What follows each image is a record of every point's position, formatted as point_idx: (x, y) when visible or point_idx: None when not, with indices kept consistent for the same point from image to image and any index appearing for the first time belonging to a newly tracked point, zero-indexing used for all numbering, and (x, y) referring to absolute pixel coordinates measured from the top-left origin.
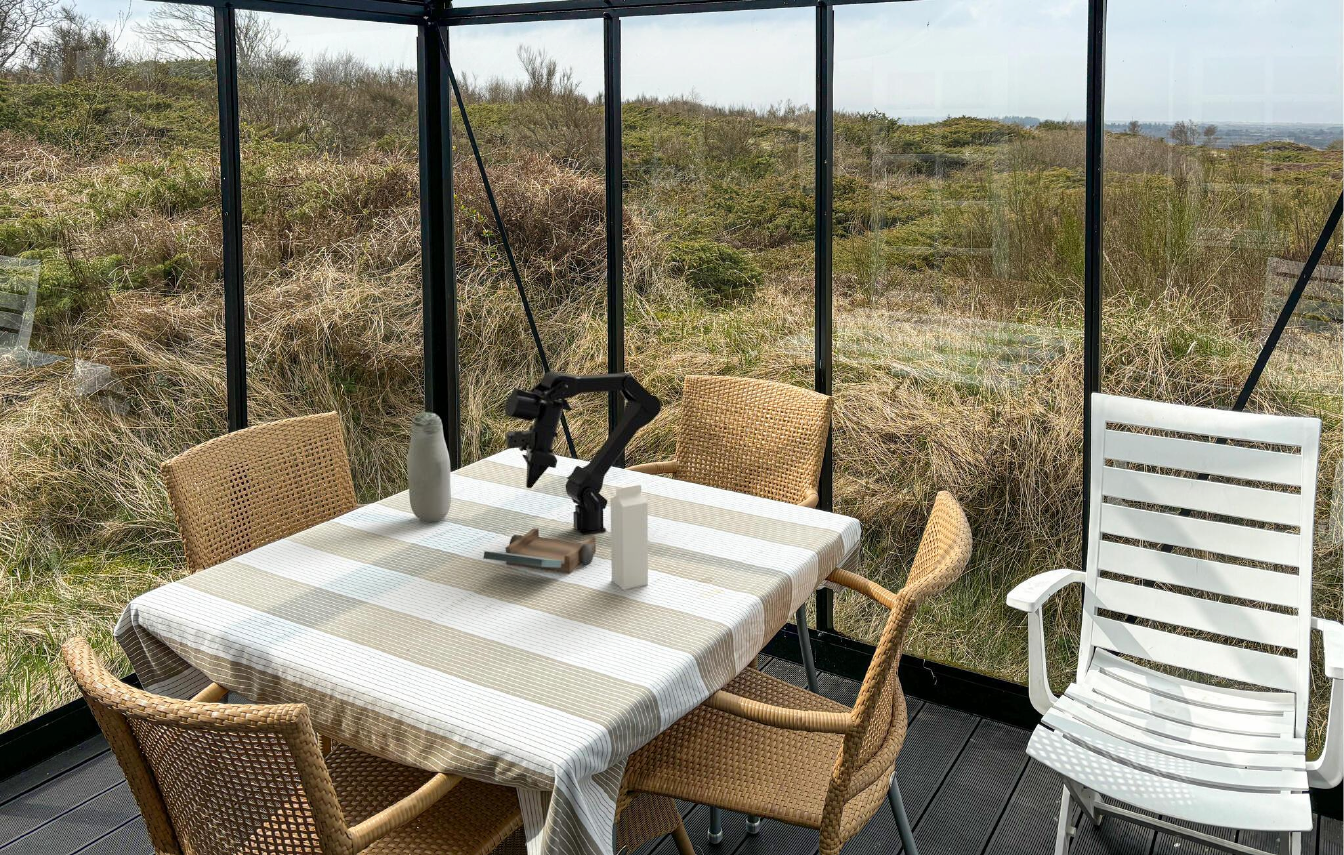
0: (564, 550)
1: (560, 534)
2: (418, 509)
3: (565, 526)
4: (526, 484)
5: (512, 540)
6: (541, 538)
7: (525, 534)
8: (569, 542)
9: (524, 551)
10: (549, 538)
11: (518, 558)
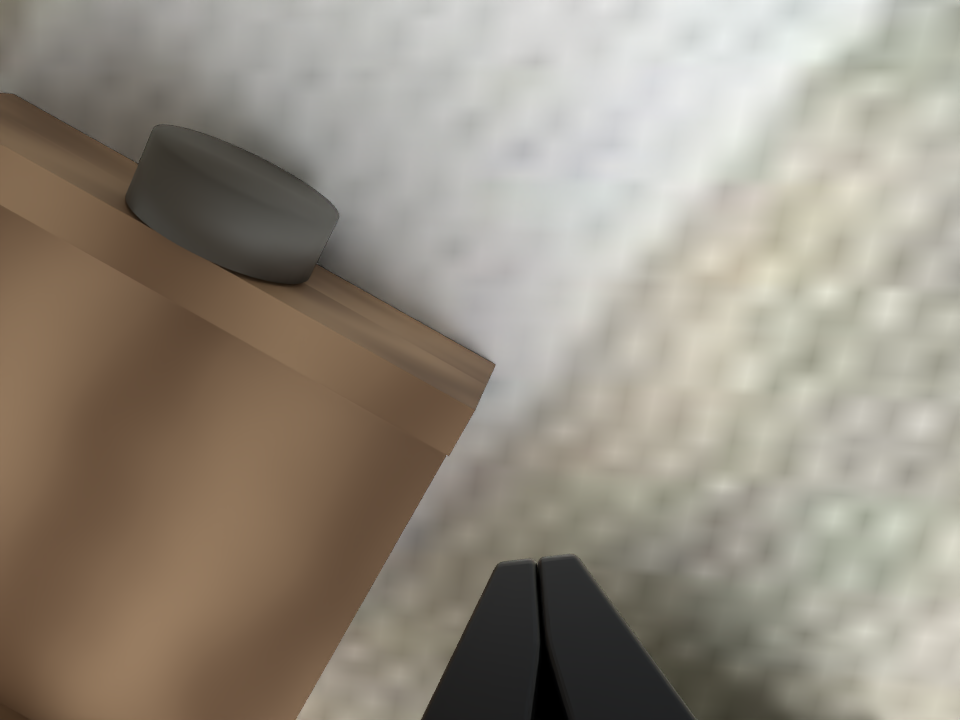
0: (88, 616)
1: (721, 607)
2: None
3: (941, 673)
4: (550, 584)
5: (148, 161)
6: (408, 449)
7: (284, 309)
8: (278, 677)
9: (73, 273)
10: (399, 521)
11: None
